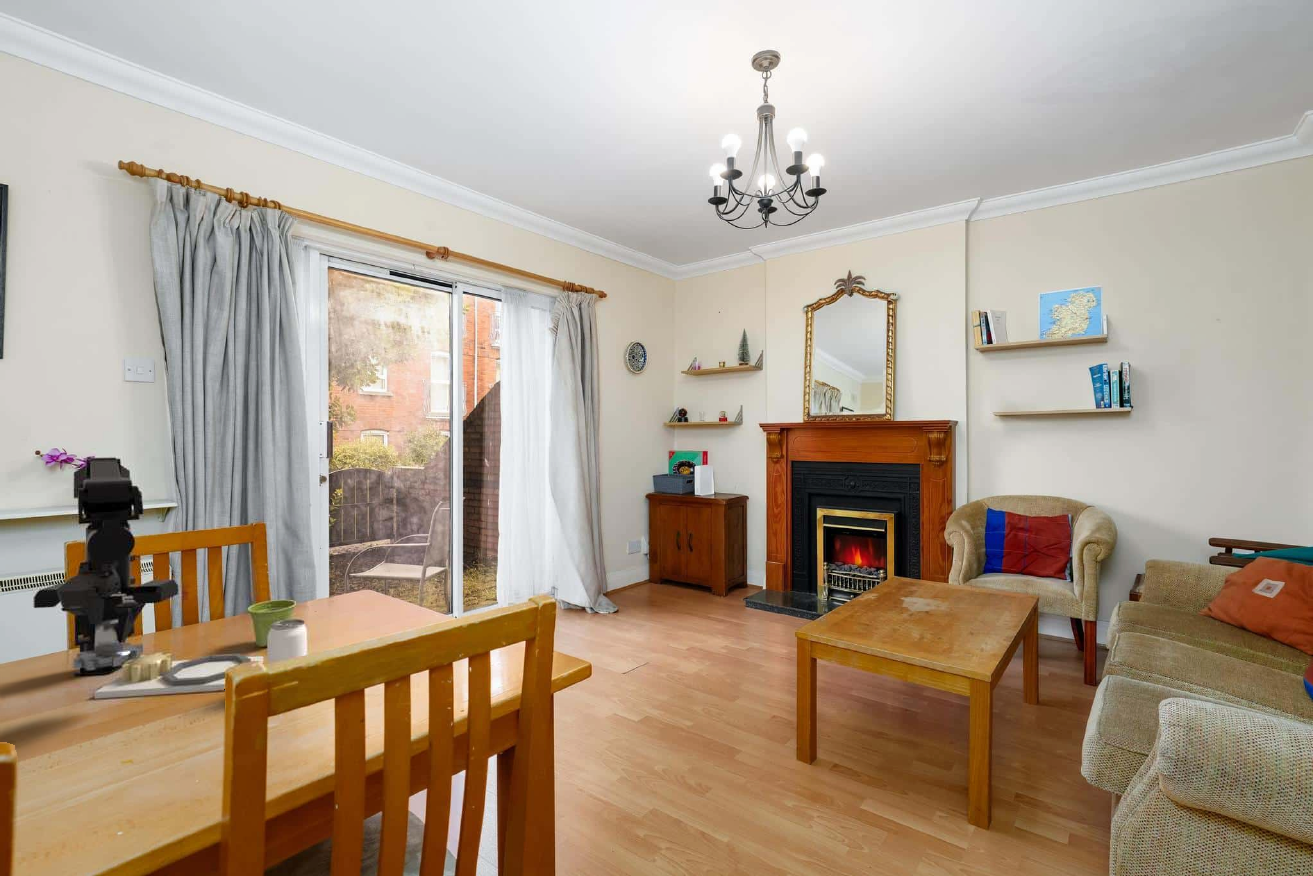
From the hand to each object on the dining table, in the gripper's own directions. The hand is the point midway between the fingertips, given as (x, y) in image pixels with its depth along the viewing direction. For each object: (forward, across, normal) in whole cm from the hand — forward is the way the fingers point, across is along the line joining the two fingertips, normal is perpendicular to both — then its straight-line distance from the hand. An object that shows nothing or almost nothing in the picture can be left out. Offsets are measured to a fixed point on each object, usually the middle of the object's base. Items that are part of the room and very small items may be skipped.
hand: (109, 642), depth 105 cm
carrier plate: (+12, +5, +13) cm, 18 cm away
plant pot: (+12, +13, +32) cm, 37 cm away
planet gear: (+3, 0, 0) cm, 3 cm away
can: (+12, +26, +6) cm, 29 cm away
